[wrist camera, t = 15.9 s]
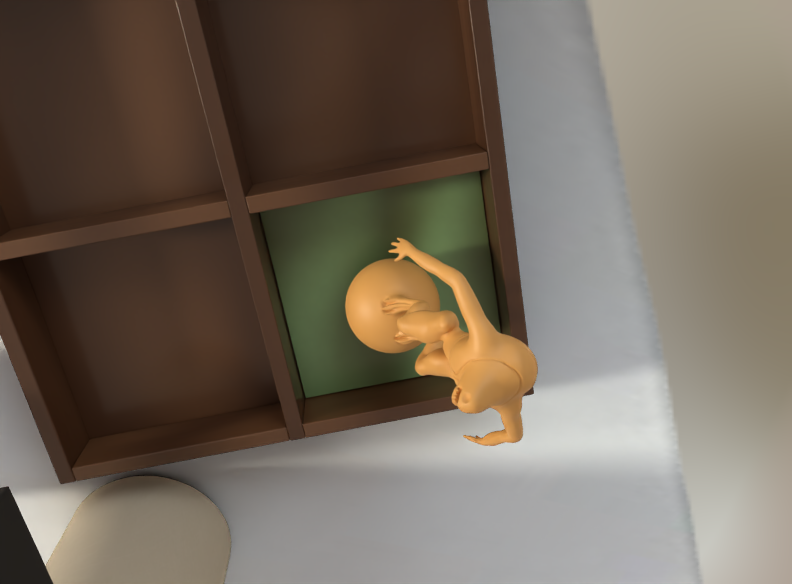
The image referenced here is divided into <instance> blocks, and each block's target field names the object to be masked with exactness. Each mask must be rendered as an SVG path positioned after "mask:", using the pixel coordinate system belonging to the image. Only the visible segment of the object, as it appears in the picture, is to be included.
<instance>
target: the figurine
mask: <svg viewBox="0 0 792 584" xmlns="http://www.w3.org/2000/svg"><path fill="white" fill-rule="evenodd" d="M397 239H398V240H399V241H400V242H399V243H396V242H392V243H391V245H394V246H396V247H397V248H396V249H392V250H389V252H390V253H399V256H398V257H397V258H396V259H383V260H379V261H376V262H374V263H372V264H370V265H368V266H366V267H365V268H364V269H362V270H361V271H360V272H359V273H358V274H357V275H356V277H355V278H354V279H353V281H352V283H351V284H350V287H349V289H348V292H347V296H346V303H345V309H346V316H347V320H348V323H349V325H350V327H351V329H352V331H353V332H354V334H355V335H356V336H357V338H358V339H359V340H360V341H362V342H363V343H364V344H365V345H367V346H368V347H370V348H372V349H374V350H377V351H380V352H384V353H401V352H406V351H409V350H411V349H413V348H415V347H417V346H419V345H420V344H422V343H426V345H425V347H424V349H423V351H422V352H421V354H420V355H419V356H418V358H417V360H416V363H415V370H416V372H417V373H418V374H419V375H422V376H425V375H435V376H443V377H450V378H452V379H454V381H455V383H456V385H457V386H456V387H455V389H454V391H453V393H452V403H453V404H454V405H455V406H458V408H459V409H460V410H461V411H462V412H465V413H480V412H482V411H484V410H486V409H488V408H493V409H495V410H497V411H498V412H499V413H500V414H501V418H502V422H503V425H504V427H505V429H504V430H502V431H495V432H491V433H489V434H487V435H486V436H485V437H484V438H480V437H478V436H476V438H475V437H472V436H466V435H463V437H465V438H467V439H468V440H470V441H473V442H475V443H478V444H481V445H485V446H488V445H490V446H495V445H498V444H501V443H504V442H509V443H515V442H518V441H520V440H521V438H522V436H523V427H522V418H521V414H520V412H521V408H522V397H523V395H524V394H525V393H526V392H527V391H529V390H530V389H531V388H532V387H533V385H534V383H535V381H536V378H537V371H538V367H537V361H536V358H535V356H534V354H533V353H532V351H531V350H530V349H529V348H528V346H526V345H525V344H524V343H523V342H521V341H520V340H518V339H516V338H514V337H511V336H508V335H505V334H501V333H499V332H497V331H496V329H495V328H494V327H493V325H492V324H491V323H490V322H489V320H488V319H487V318H486V316H485V314H484V312H483V310H482V308H481V305H480V303H479V302H478V300H477V298H476V296H475V294H474V292H473V290H472V288H471V286H470V285H469V283H468V281H467V280H466V278H465V277H464V276H463V274H462V273H460V272H459V271H458V270H456V269H455V268H453V267H450V266H448V265H446V264H444V263H442V262H441V261H439V260H438V259H436V258H434V257H432V256H430V255H429V254H427V253H424V252H422V251H420V250H418V249H416V248H415V247H414V246H413V245H412V244H411V243H410V242H408V241H407V240H405V239H402V238H397ZM406 256H409V257H410V258H411V259H412V260H414V261H415V262H416V263H417V264H418V265H419V266H420V267H422V268H423V269H425V270H426V271H428V272H430V273H432V274H434V275H436V276H438V277H439V278H440V279H441V280H442V281H444V282H445V283H447V284H448V285H449V286H450V287H452V289H453V292H454V294H455V297H456V300H457V303H458V306H459V308H460V311H461V313H462V316H463V318H464V320H465V322H466V324H467V327H468V331H469V333H467V332H464V331H462V330H461V329H460V328H459V321H458V318H457V316H456V314H455V313H453V312H452V311H448V310H444V311H440V299H439V294H438V290H437V288H436V286H435V284H434V282H433V280H432V279H431V277H430V276H429V275H428V274H427V273H426V272H425V271H424V270H423V269H422V268H420V267H419V266H417V265H416V264H414V263H412V262H409V261H406V260H402V259H403V258H404V257H406Z"/></svg>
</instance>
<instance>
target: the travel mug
mask: <svg viewBox="0 0 792 584" xmlns="http://www.w3.org/2000/svg"><path fill="white" fill-rule="evenodd" d="M230 552H231V537H230V532H229V528H228V525H227V523H226V521H225V518H224V517H223V515H222V513H221V512H220V510H219V509H218V508H217V507H216V505H215V504H214V503H213V502H212V501H211V500H210V499H209V498H207V497H206V496H205V495H204V494H202V493H201V492H199V491H198V490H196V489H194V488H193V487H191V486H189V485H187V484H184V483H182V482H179V481H176V480H172V479H169V478H164V477H157V476H134V477H127V478H123V479H119V480H116V481H113V482H110V483H108V484H106V485H104V486H102V487H100V488H98V489H97V490H95V491H94V492H93V493H91V494H90V495H89V496H88V497H87V498H86V499H85V500H84V501H83V502H82V503H81V504H80V506H79V507H78V509H77V510H76V512H75V514H74V515H73V517H72V519H71V521H70V523H69V524H68V526H67V528H66V530H65V532H64V533H63V535H62V537H61V539H60V541H59V542H58V544H57V546H56V548H55V550H54V551H53V553H52V555H51V557H50V559H49V560H48V562H47V564H46V566H45V567H46V569H47V571H48V573H49V575H50V577H51V579H52V582H53V584H224V581H225V576H226V571H227V567H228V562H229V557H230Z"/></svg>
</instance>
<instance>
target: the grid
mask: <svg viewBox="0 0 792 584" xmlns="http://www.w3.org/2000/svg"><path fill="white" fill-rule="evenodd" d="M397 238H402V239H405V240H407V241H408V242H410V243H411V244H412V245H413V246H414V247H415V248H416V249H418V250H420V251H422V252H424V253H427V254H429V255H430V256H432V257H434V258H436V259H438V260H439V261H441V262H442V263H444V264H446V265H448V266H450V267H453V268H455V269H456V270H458V271H459V272H460V273H462V274H463V276H464V277H465V278H466V280H467V281H468V283H469V285H470V286H471V288H472V290H473V292H474V294H475V296H476V298H477V300H478V302H479V303H480V305H481V308H482V310H483V312H484V314H485V316H486V318H487V319H488V320H489V322H490V323H491V324H492V325H493V327H494V328H495V329H496V331H497V332H499V333H501V334H505V335H508V336H511V337H514V338H516V339H518V340H520V341H521V342H523V343H524V344H525V345H526V346H528V339H527V331H526V322H525V314H524V306H523V297H522V289H521V280H520V272H519V264H518V255H517V247H516V238H515V230H514V222H513V213H512V205H511V197H510V188H509V180H508V171H507V163H506V155H505V146H504V138H503V129H502V121H501V113H500V104H499V96H498V87H497V79H496V71H495V62H494V54H493V45H492V37H491V29H490V20H489V12H488V4H487V0H0V335H1V338H2V340H3V343H4V345H5V347H6V350H7V352H8V355H9V357H10V360H11V362H12V365H13V367H14V370H15V372H16V375H17V377H18V380H19V382H20V385H21V387H22V390H23V392H24V395H25V397H26V400H27V402H28V405H29V407H30V410H31V412H32V415H33V417H34V419H35V422H36V424H37V427H38V429H39V432H40V434H41V437H42V439H43V442H44V444H45V447H46V449H47V452H48V454H49V457H50V459H51V462H52V464H53V467H54V469H55V472H56V474H57V477H58V479H59V482H60V484H64V483H70V482H74V481H79V480H85V479H90V478H95V477H100V476H106V475H111V474H116V473H121V472H127V471H132V470H137V469H142V468H148V467H153V466H158V465H164V464H169V463H174V462H179V461H185V460H190V459H195V458H200V457H206V456H211V455H216V454H221V453H227V452H232V451H237V450H242V449H248V448H253V447H258V446H263V445H269V444H274V443H279V442H284V441H289V440H297V439H302V438H305V437H312V436H317V435H323V434H328V433H333V432H338V431H344V430H349V429H354V428H359V427H365V426H370V425H375V424H380V423H386V422H391V421H396V420H401V419H407V418H412V417H417V416H422V415H428V414H433V413H438V412H443V411H449V410H454V409H459V408H458V406H455V405H454V404H453V403H452V393H453V391H454V389H455V387H456V386H457V385H456V383H455V381H454V379H452V378H450V377H443V376H435V375H425V376H422V375H419V374H418V373H417V372H416V370H415V363H416V360H417V358H418V356H419V355H420V354H421V352H422V351H423V349H424V347H425V345H426V343H422V344H420V345H419V346H417V347H415V348H413V349H411V350H409V351H406V352H401V353H384V352H380V351H377V350H374V349H372V348H370V347H368V346H367V345H365V344H364V343H363V342H362V341H360V340H359V339H358V338H357V336H356V335H355V334H354V332H353V331H352V329H351V327H350V325H349V323H348V320H347V316H346V309H345V303H346V296H347V292H348V289H349V287H350V284H351V283H352V281H353V279H354V278H355V277H356V275H357V274H358V273H359V272H360V271H361V270H362V269H364V268H365V267H366V266H368V265H370V264H372V263H374V262H376V261H379V260H383V259H396V258H397V257H398V256H399V253H390V252H389V250H392V249H396V248H397V247H396V246H394V245H391V243H392V242H396V243H399V242H400V241H399V240H398V239H397ZM402 260H406V261H409V262H412V263H414V264H416V265H417V266H419V265H418V264H417V263H416V262H415V261H414V260H412V259H411V258H410V257H409V256H406V257H404V258H403V259H402ZM419 267H420V266H419ZM420 268H422V267H420ZM422 269H423V268H422ZM423 270H424V271H425V272H426V273H427V274H428V275H429V276H430V277H431V279H432V280H433V282H434V284H435V286H436V288H437V290H438V294H439V299H440V311H444V310H448V311H452V312H453V313H455V314H456V316H457V318H458V321H459V328H460V329H461V330H462V331H464V332H467V333H469V331H468V327H467V324H466V322H465V320H464V318H463V316H462V313H461V311H460V308H459V306H458V303H457V300H456V297H455V294H454V292H453V289H452V287H450V286H449V285H448V284H447V283H445V282H444V281H442V280H441V279H440V278H439V277H438V276H436V275H434V274H432V273H430V272H428V271H426V270H425V269H423ZM532 394H534V390H533V387H532V388H531V389H530V390H529V391H527V392H526V393H525V394H524V395H523V396H527V395H532Z"/></svg>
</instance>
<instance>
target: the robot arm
mask: <svg viewBox="0 0 792 584" xmlns="http://www.w3.org/2000/svg"><path fill="white" fill-rule="evenodd" d="M0 584H53V582H52V579H51V577H50V575H49V573H48V571H47V569H46V567H45V564H44V562H43V560H42V558H41V556H40V554H39V551H38V549H37V547H36V545H35V543H34V541H33V538H32V536H31V534H30V532H29V530H28V528H27V525H26V523H25V521H24V519H23V517H22V515H21V512H20V510H19V508H18V506H17V504H16V502H15V499H14V497H13V495H12V493H11V491H10V489H9V486H8V487H3V488H0Z"/></svg>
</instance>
